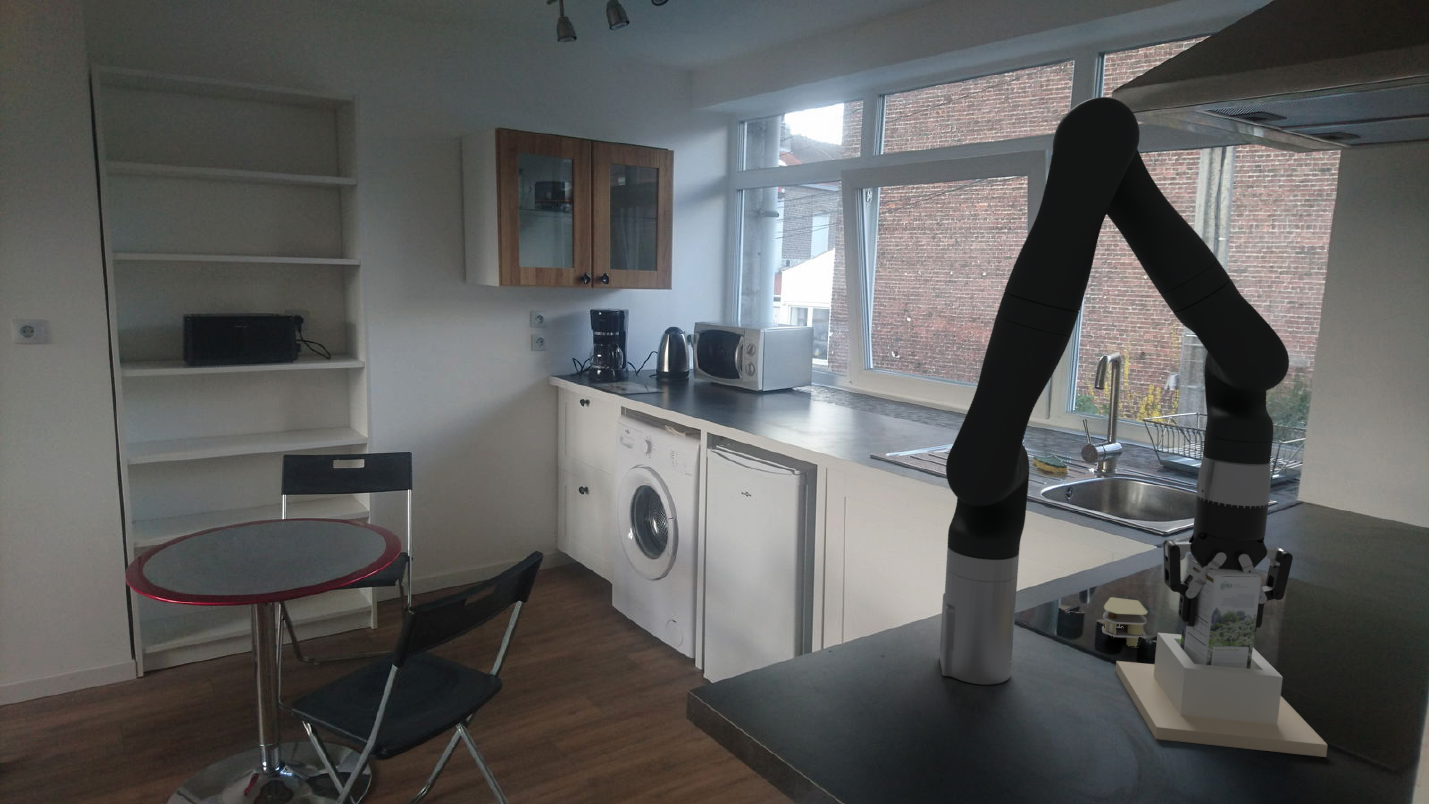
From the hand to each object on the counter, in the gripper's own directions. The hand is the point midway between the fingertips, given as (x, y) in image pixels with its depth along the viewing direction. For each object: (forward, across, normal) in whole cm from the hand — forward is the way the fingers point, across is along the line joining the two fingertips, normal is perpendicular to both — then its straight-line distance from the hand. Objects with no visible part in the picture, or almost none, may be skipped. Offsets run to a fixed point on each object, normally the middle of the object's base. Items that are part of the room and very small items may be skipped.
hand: (1218, 626), depth 107 cm
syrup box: (+7, 0, 0) cm, 7 cm away
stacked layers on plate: (+12, -5, +21) cm, 24 cm away
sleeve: (+11, 0, 0) cm, 11 cm away
